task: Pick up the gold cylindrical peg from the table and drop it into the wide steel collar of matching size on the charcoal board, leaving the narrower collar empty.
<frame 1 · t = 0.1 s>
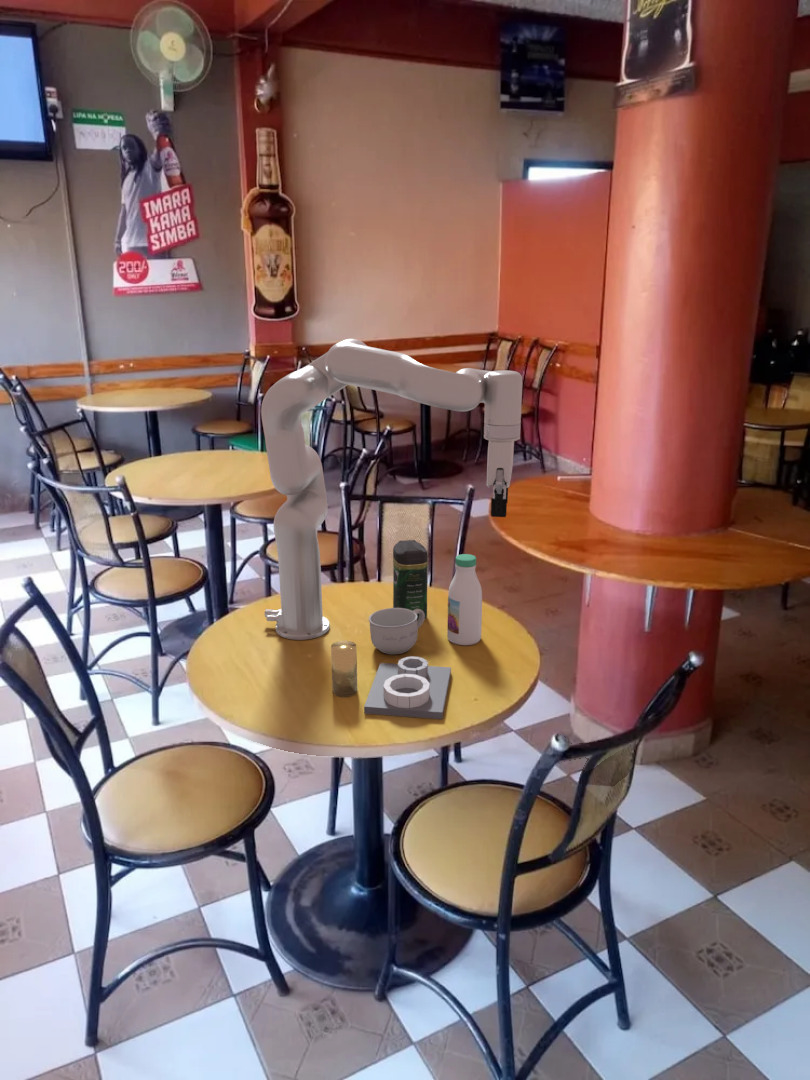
hand: (499, 509, 176), 31 cm above the table, fingers open, 9 cm apart
collar board: (409, 692, 164), on the table
coffee jar: (410, 616, 200), on the table
gold cylindrical peg: (345, 690, 165), on the table
teacup: (399, 647, 184), on the table
milk bottle: (464, 639, 188), on the table
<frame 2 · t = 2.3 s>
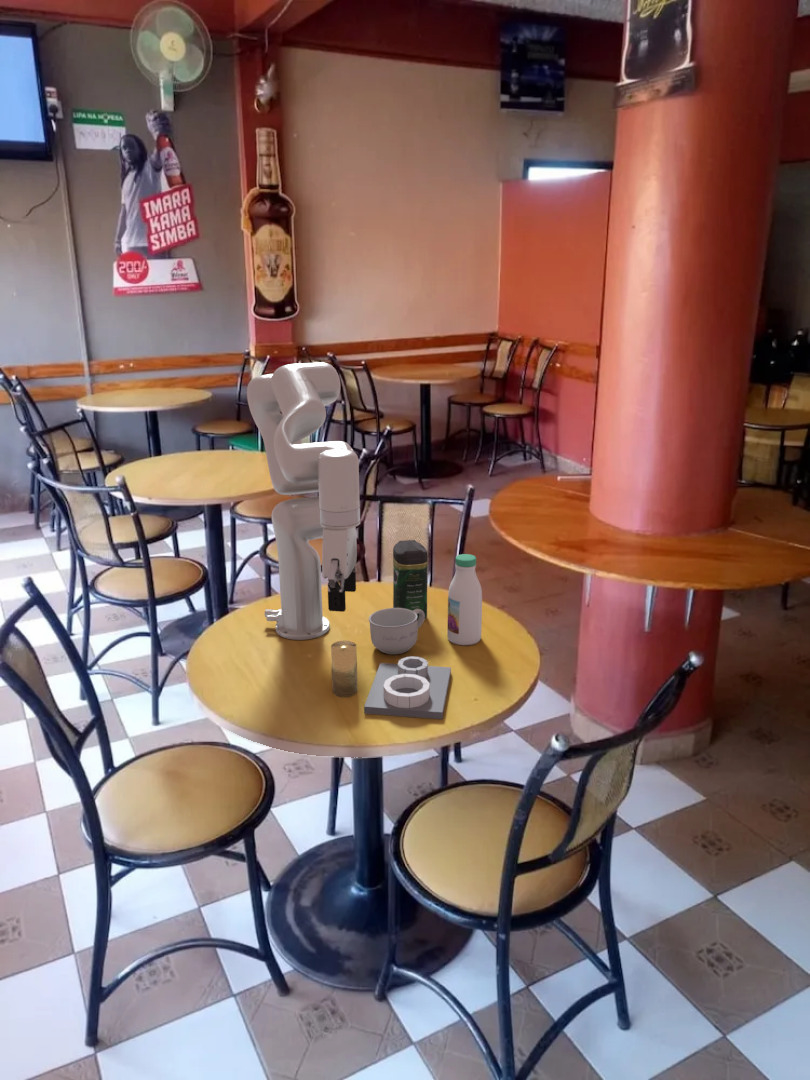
hand: (342, 600, 159), 20 cm above the table, fingers open, 9 cm apart
nothing on the table moved.
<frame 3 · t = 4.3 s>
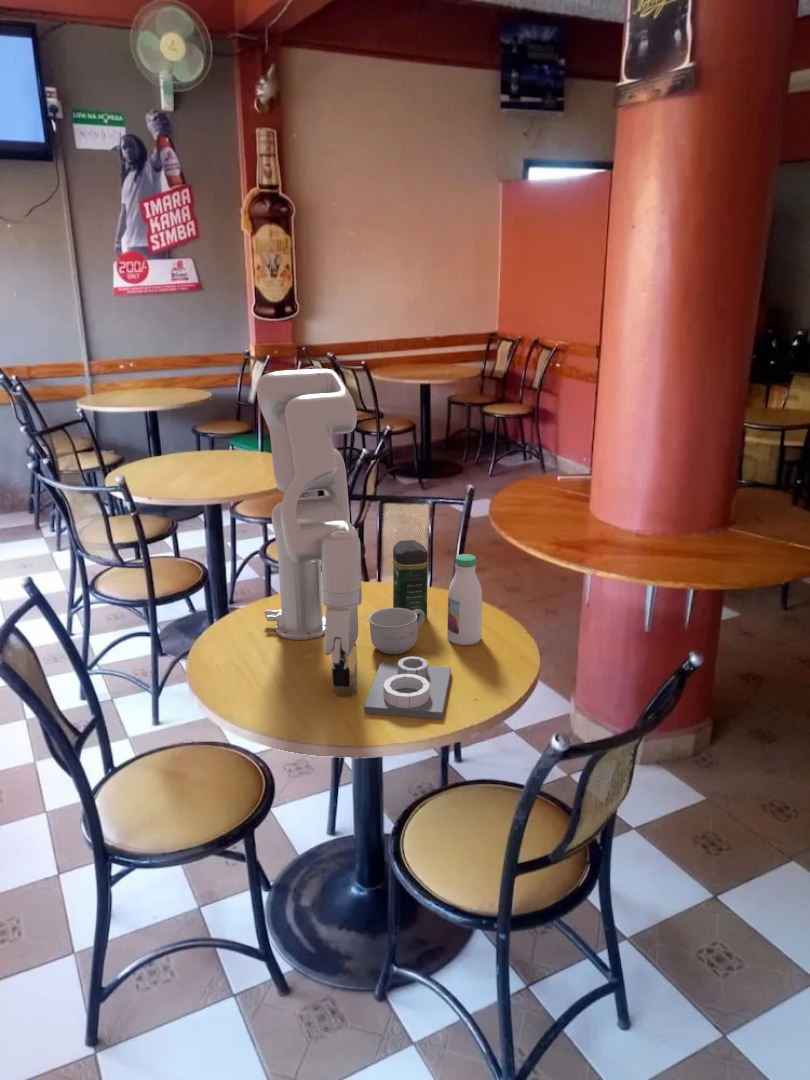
hand: (344, 677, 164), 3 cm above the table, fingers closed on gold cylindrical peg, 5 cm apart
gold cylindrical peg: (345, 690, 165), on the table, touching gripper
everything else where it was.
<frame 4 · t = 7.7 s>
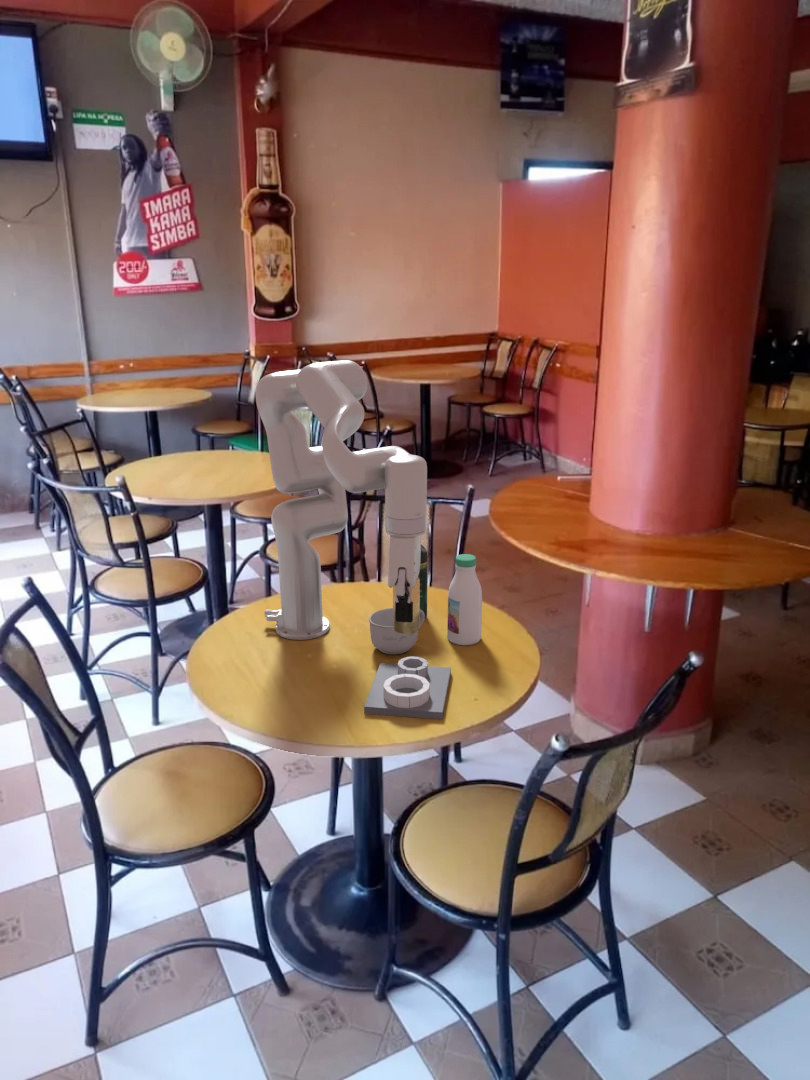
hand: (406, 614, 154), 19 cm above the table, fingers closed on gold cylindrical peg, 5 cm apart
gold cylindrical peg: (406, 628, 155), point 16 cm above the table, touching gripper
everything else where it was.
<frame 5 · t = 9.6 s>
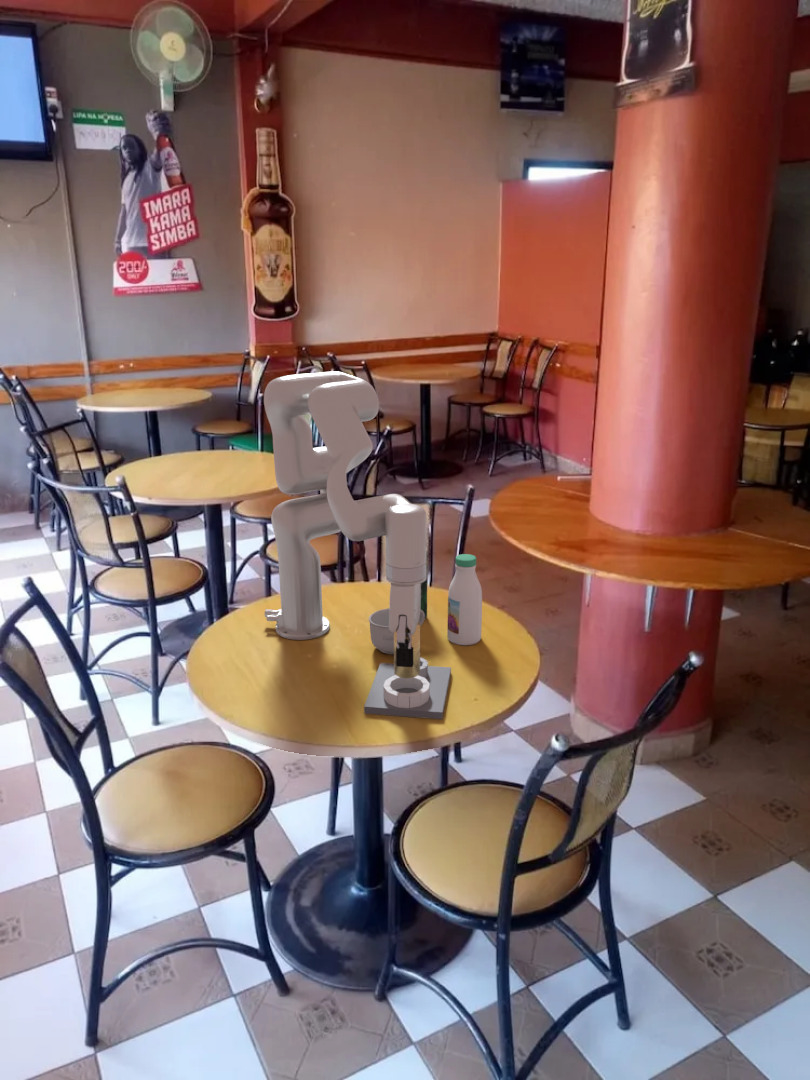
hand: (407, 658, 157), 10 cm above the table, fingers closed on gold cylindrical peg, 5 cm apart
gold cylindrical peg: (407, 671, 158), point 7 cm above the table, touching gripper
everything else where it was.
when the fingers open (5 cm above the table, at t = 11.2 s): gold cylindrical peg stays where it is, resting on collar board.
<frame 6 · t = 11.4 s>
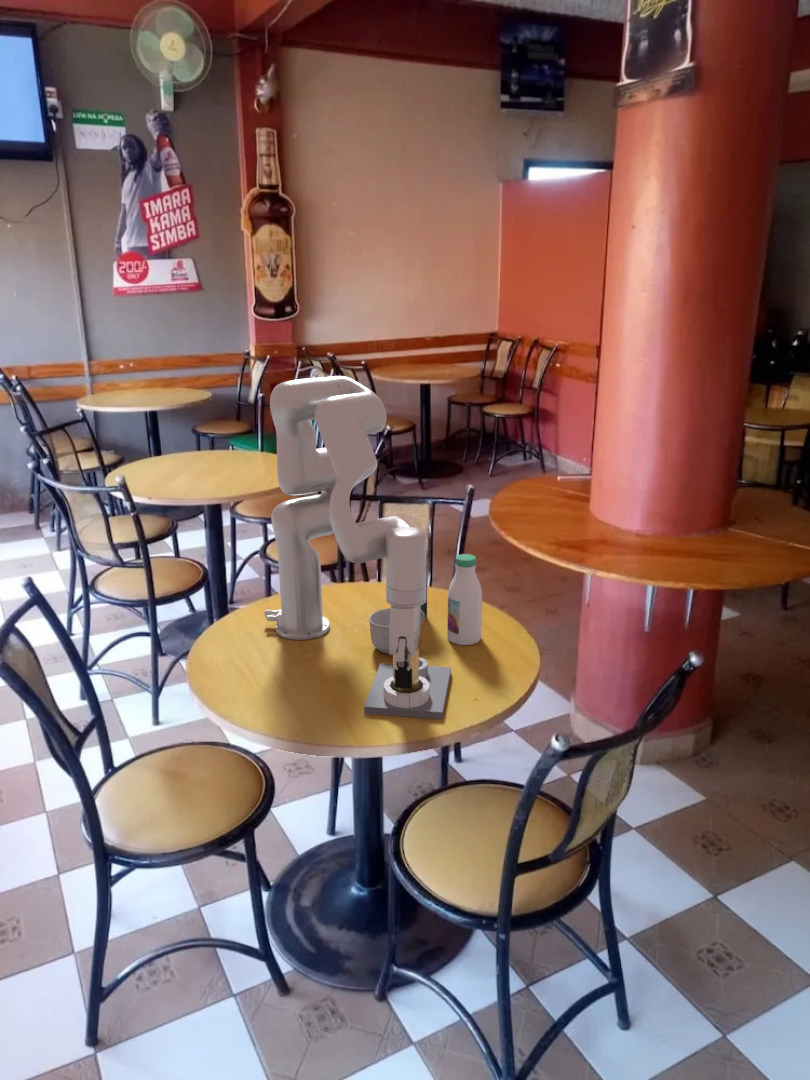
hand: (406, 676, 159), 6 cm above the table, fingers open, 7 cm apart
gold cylindrical peg: (406, 695, 160), point 2 cm above the table, touching collar board
everything else where it was.
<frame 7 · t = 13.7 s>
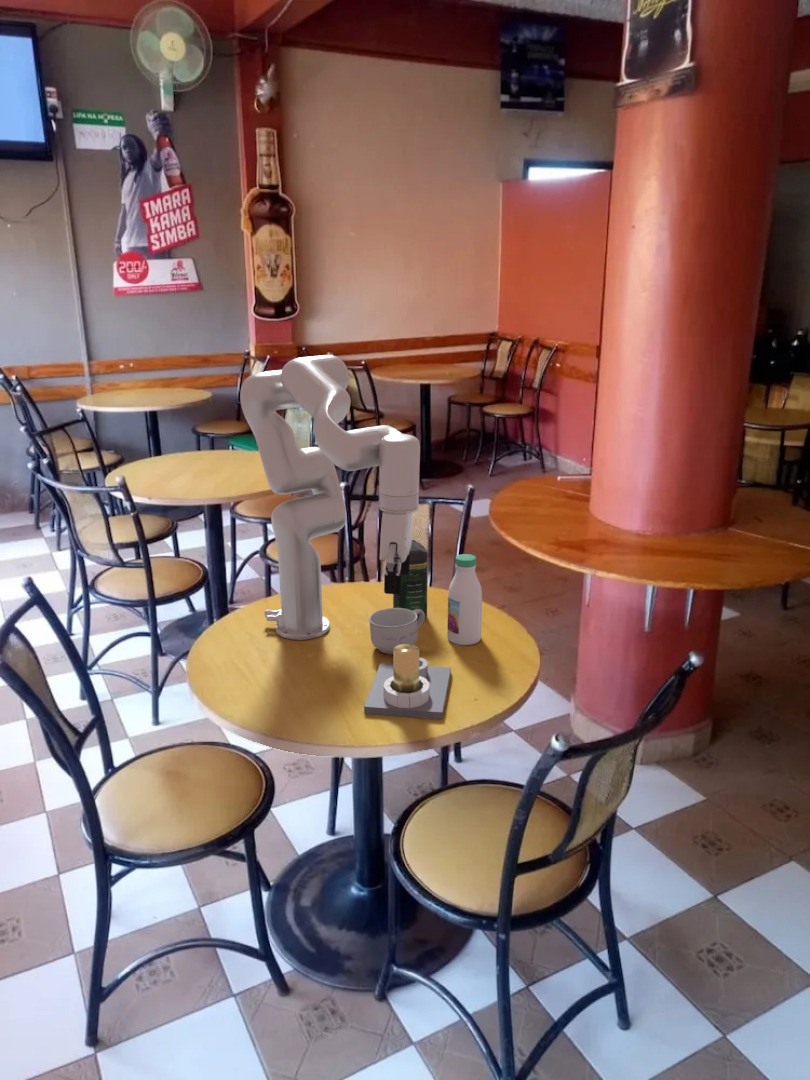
hand: (397, 583, 161), 22 cm above the table, fingers open, 9 cm apart
nothing on the table moved.
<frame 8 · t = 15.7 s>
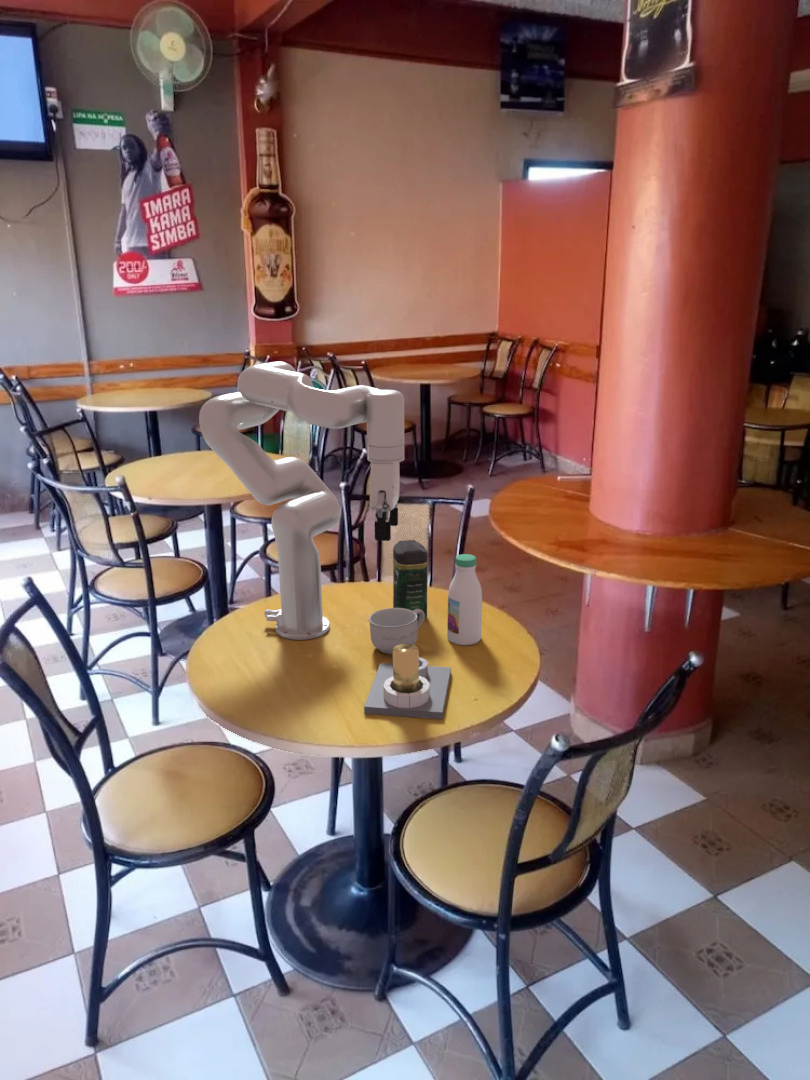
hand: (386, 532, 171), 28 cm above the table, fingers open, 9 cm apart
nothing on the table moved.
at the end: gold cylindrical peg 0.1 cm from the target spot on the collar board, point 1.5 cm above the collar board's base; gold cylindrical peg tilted 1°; the gripper is holding nothing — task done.
